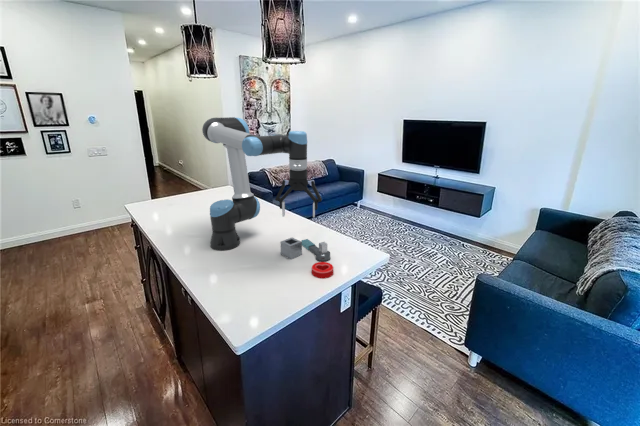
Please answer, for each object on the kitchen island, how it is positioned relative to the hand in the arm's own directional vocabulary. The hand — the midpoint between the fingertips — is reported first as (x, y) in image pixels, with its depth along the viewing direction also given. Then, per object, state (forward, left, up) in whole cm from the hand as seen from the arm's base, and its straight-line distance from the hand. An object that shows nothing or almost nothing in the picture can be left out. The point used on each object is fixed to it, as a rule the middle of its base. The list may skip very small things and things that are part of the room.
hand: (298, 216), depth 131 cm
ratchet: (-2, +12, -23) cm, 26 cm away
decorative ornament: (+15, 0, -23) cm, 28 cm away
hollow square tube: (-8, +2, -23) cm, 24 cm away
